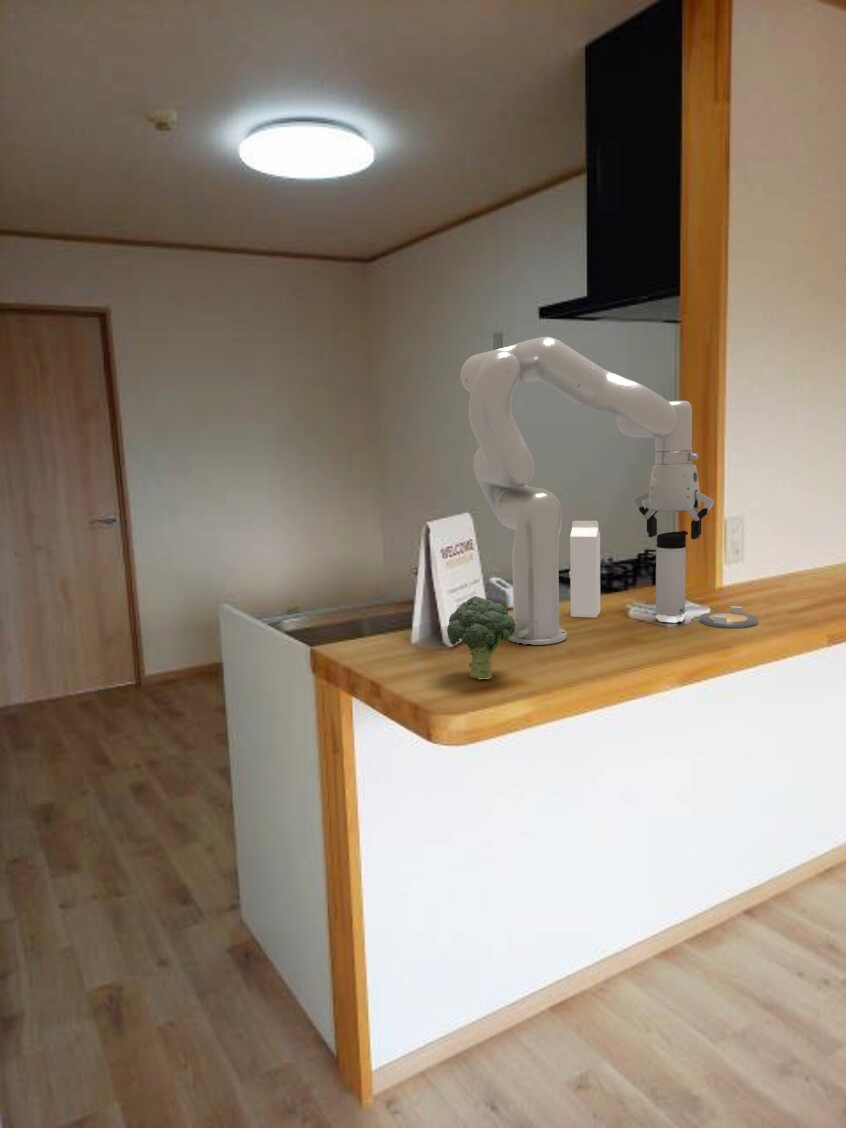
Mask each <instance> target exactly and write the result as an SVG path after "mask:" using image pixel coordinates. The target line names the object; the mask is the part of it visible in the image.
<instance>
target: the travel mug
mask: <svg viewBox="0 0 846 1128" xmlns="http://www.w3.org/2000/svg"><path fill="white" fill-rule="evenodd" d="M688 534H689V533H688V531H687V530H681V531H671V532H664V533H659V534H657V535H656V546H655V547H656V550H655V552H656V554H655V556H656V557H655V562H656V564H655V565H656V566H655V613H656V612H657V613H658V614H661V615H667V616H676V615H682V614H686V573H687V572H686V571H687V570H686V564H687V563H686V562H687V560H686V559H687V556H686V555H687V550H686V549H687V545H686V542H687V537H686V536H688Z"/></svg>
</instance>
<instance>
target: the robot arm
mask: <svg viewBox="0 0 846 1128" xmlns="http://www.w3.org/2000/svg"><path fill="white" fill-rule="evenodd" d="M460 381H461V384H462V386H463V387H464V389H465V390H466V391H467V392H469V394H470V398H469V403H468V419H469V423H470V427H471V430H472V433H473V435H474V437H475V439H476V441H477V444H478V447H479V448H477V450H476V451H475V454H474V457H473V462H472V466H473V472H474V476H475V479H476V480H477V482H478V485H479V487H480V489H481V490H482V493H483V495H484V497H485V500H487V503H488V504H489V506H490V508H491V511H492V512H493V514H494V515H495V517H496V518H497V520H498V521H499V522H500V523H501V525H503V526H504V527H506V528H508V529H511V530H515V533H514V534H515V535H514V539H513V542H512V543H513V544H512V548H511V549H512V552H511V553H512V554H511V567H512V604H513V605H512V607H513V608H512V610H513V611H512V612H513V613H512V614H513V615H512V617H513V620H514V623H515V628H516V629H515V631H514V633H513V634H512V635H511V636H510V638H509V640H508V641H510V642H512V643H515V642H516V644H519V643H522V644H521V645H527V644H531V645H530V646H542V645H543V646H544V645H553V644H557V643H560V642H563V641H565V640H566V639H567V636H568V635H567V631H566V630H565V629H564V628H561V627H560V591H559V589H560V587H559V586H560V585H559V584H560V582H559V581H560V579H559V576H560V575H559V569H560V568H559V543H560V533H561V527H562V522H563V510H562V505H561V502H560V501H559V499H558V497H557V496H556V495H555V494H554V493H553V492H551V491H550V490H548V489H545V488H543V487H536V486H528V485H527V484H528V483H530V482H531V480H532V479H533V477H534V475H535V470H536V465H535V460H534V457H533V456H532V453H531V451H530V449H529V448H528V445H527V443H526V441H525V439H524V437H523V435H522V433H521V431H520V429H519V427H518V425H517V422H516V420H515V417H514V414H513V411H512V410H513V409H512V399H513V395H514V391H515V389H516V387H518V386H522V385H525V384H527V383H531V382H538V381H540V382H542V383H544V384H545V385H547V386H548V387H550V388H552V389H553V390H555V391H557V392H558V393H560V394H562V395H563V396H565V397H567V398H569V399H570V400H571V401H573V402H575V403H576V404H577V405H579V406H581V407H585V408H588V409H592V410H596V411H601V412H607V413H611V414H614V415H616V425H617V428H618V430H619V431H620V432H621V433H622V434H623V435H624V436H627V437H630V438H634V439H635V438H636V439H637V438H639V439H640V438H641V439H642V438H643V439H645V438H652V439H653V438H654V439H655V441H654V442H655V450H654V451H655V459H654V460H655V465H653V466H652V468H651V475H650V479H649V487H648V488H649V489H648V490H649V491H648V492H646V493H644V494H642V495H641V496H639V497H636V498H635V500H634V501H635V504H636V506H637V508H638V510H639V512H640V514H641V515H643V517H644V518H645V520H646V532H647V533H648V534H647V535H648V538H653V537H657V535H658V518H657V517H656V515H657V514H658V512H667V513H668V512H669V513H670V512H671V513H672V512H673V513H674V512H675V513H688V515H690V517H691V518H692V520H691V521H690V539H691V540H697V539H699V538H700V536H701V535H702V520H703V519H704V518H705V517H706V516H707V515H708V514H709V513H710V511H711V509H712V507H713V506H714V503H715V500H714V499H713V498H711V497H709V496H708V495H705V494H704V493H701V491H700V484H699V483H700V482H699V475H698V470H697V469H698V468H697V466H696V464H693V462H694V461H695V460H698V459H699V453H695V452H693V449H692V447H693V446H692V441H693V439H692V438H693V437H692V436H693V434H692V433H693V431H692V430H693V429H692V428H693V421H692V418H693V417H692V416H693V409H692V404H691V403H690V402H689V401H688V400H670V401H668V400H667V399H666V398H665V397H663V396H662V395H660V394H658V393H656V392H655V391H653V390H652V389H650V388H648V387H647V386H645V385H643V384H641V383H639V382H636V381H634V380H631V379H629V378H626V377H624V376H621V375H619V374H617V373H616V372H615V373H614V372H612V371H609V370H607V369H604V368H603V367H602V366H599V365H597V364H596V363H594V361H592V360H590V359H589V358H587V357H585V356H584V355H582V354H580V353H579V352H578V351H576V350H575V349H573V348H572V347H570V346H568V344H565V343H564V342H562V341H561V340H559V339H558V338H554V337H552V336H540V337H536V338H532V339H528V340H524V341H521V342H517V343H515V344H512V345H508V346H504V347H501V348H497V349H493V350H490V351H484V352H482V353H476V354H473V355H472V356H470V357H469V358H467V360H466V361H465V362H464V363H463V365H462V367H461V371H460ZM647 500H648V506H649V508H648V507H647V506H646V505H645V501H647ZM701 503H703V505H704V506H703V507H702V509H701V510H700V509H699V508H700V507H701Z"/></svg>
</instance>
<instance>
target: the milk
mask: <svg viewBox="0 0 846 1128" xmlns="http://www.w3.org/2000/svg"><path fill="white" fill-rule="evenodd" d="M571 524H572V525H571V531H570V535H569V544H570V545H569V546H570V547H569V554H570V555H569V558H570V559H569V560H570V561H569V565H570V567H569V568H570V570H569V571H570V574H569V575H570V578H569V579H570V582H569V583H570V617H571V618H591V619H592V618H595V619H597V618H598V616H599V614H600V613H601V532H600V528H599V522H598V520H572V521H571Z"/></svg>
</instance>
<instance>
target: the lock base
mask: <svg viewBox="0 0 846 1128" xmlns="http://www.w3.org/2000/svg"><path fill="white" fill-rule="evenodd" d="M729 609H730V611H712V612H705V613H702V614H701V615H699V622H700V623H701V624H703V625H706V626H708V627H714V628H723V629H745V628H751V627H755V626H757V625H758V621H759V620H758V619H759V618H758V617H756V616H755V615H753V614H748V613H743V607H742V606H737V605H736V606H734V605H731V606H730V607H729ZM756 624H757V625H756Z"/></svg>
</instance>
